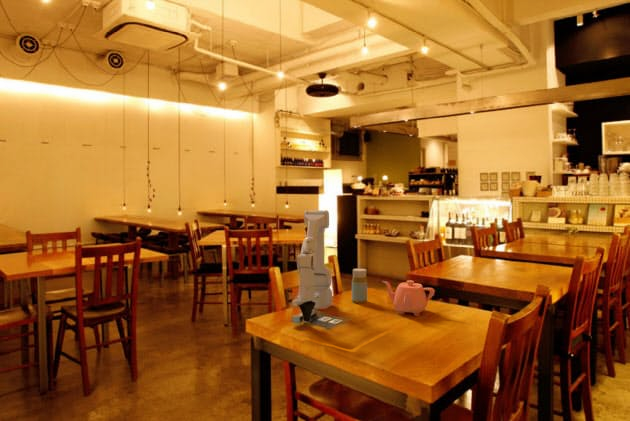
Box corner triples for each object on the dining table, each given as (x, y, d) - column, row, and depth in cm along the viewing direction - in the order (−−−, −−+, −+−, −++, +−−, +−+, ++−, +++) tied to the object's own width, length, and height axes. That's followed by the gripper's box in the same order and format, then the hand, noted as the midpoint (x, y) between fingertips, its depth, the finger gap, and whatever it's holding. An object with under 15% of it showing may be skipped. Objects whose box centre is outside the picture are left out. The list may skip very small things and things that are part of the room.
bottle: (349, 302, 199) (349, 270, 198) (355, 299, 205) (355, 267, 204) (363, 304, 196) (363, 271, 195) (369, 301, 202) (369, 269, 201)
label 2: (335, 319, 171) (335, 318, 171) (342, 321, 169) (342, 320, 169) (328, 322, 167) (328, 321, 167) (335, 324, 165) (335, 323, 165)
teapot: (407, 320, 173) (407, 286, 172) (381, 309, 188) (381, 278, 187) (437, 314, 181) (437, 282, 180) (410, 305, 196) (410, 275, 195)
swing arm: (311, 313, 177) (311, 305, 176) (318, 314, 175) (318, 306, 175) (291, 325, 162) (291, 316, 162) (299, 326, 161) (299, 317, 161)
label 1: (325, 317, 174) (325, 316, 174) (332, 318, 172) (332, 318, 172) (317, 320, 170) (317, 319, 170) (324, 322, 168) (324, 321, 168)
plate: (317, 314, 181) (317, 311, 181) (350, 321, 171) (350, 318, 171) (296, 322, 170) (296, 319, 170) (329, 331, 160) (329, 328, 160)
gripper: (310, 280, 171) (310, 314, 171) (285, 287, 159) (285, 323, 160) (324, 283, 166) (324, 317, 167) (300, 290, 155) (300, 327, 156)
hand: (306, 321), depth 163 cm, fingers closed
